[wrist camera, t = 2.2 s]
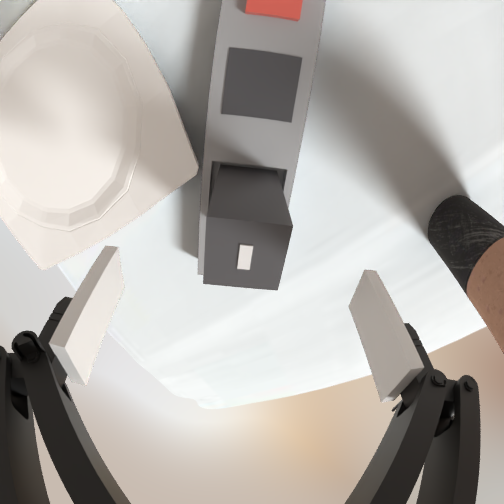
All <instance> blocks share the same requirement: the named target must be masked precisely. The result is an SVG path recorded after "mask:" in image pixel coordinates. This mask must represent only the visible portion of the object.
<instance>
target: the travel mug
mask: <svg viewBox="0 0 504 504" xmlns="http://www.w3.org/2000/svg"><path fill="white" fill-rule="evenodd" d="M428 236H429V240H430V243H431V244H432V246H433V247H434V249H435V250H436V251H437V253H438V254H439V256H440V257H441V258H442V260H443V261H444V263H445V264H446V265H447V267H448V268H449V270H450V271H451V272H452V274H453V275H454V277H455V278H456V280H457V281H458V283H459V284H460V286H461V287H462V289H463V290H464V292H465V293H466V295H467V296H468V298H469V300H470V301H471V302H472V304H473V305H474V307H475V308H476V310H477V311H478V313H479V314H480V316H481V317H482V319H483V320H484V322H485V323H486V325H487V327H488V328H489V330H490V331H491V333H492V335H493V336H494V338H495V340H496V341H497V343H498V345H499V346H500V348H501V350H502V352H503V353H504V226H503V225H502V224H501V223H499V222H498V221H497V220H496V219H495V218H493V217H492V216H491V215H490V214H488V213H487V212H486V211H485V210H483V209H482V208H481V207H479V206H478V205H477V204H475V203H474V202H473V201H471V200H470V199H468V198H467V197H465V196H461V195H456V196H452V197H450V198H448V199H446V200H445V201H444V202H442V203H441V204H440V205H439V206H438V208H437V209H436V210H435V212H434V214H433V215H432V218H431V220H430V223H429V228H428Z"/></svg>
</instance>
